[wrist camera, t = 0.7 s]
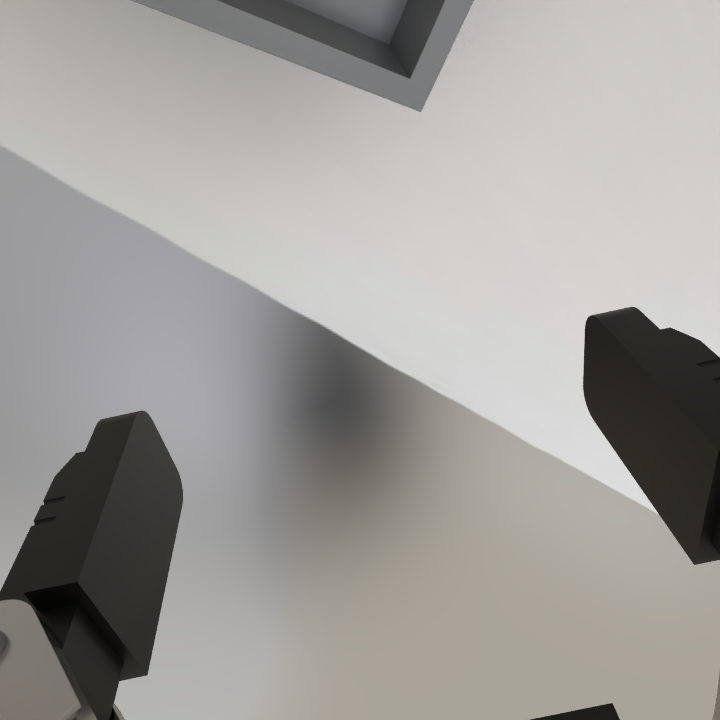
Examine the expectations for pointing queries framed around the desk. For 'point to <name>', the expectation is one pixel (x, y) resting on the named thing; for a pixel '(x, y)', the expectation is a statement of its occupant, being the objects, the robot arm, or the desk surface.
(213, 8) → the open box
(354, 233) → the desk surface
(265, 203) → the desk surface
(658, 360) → the robot arm
